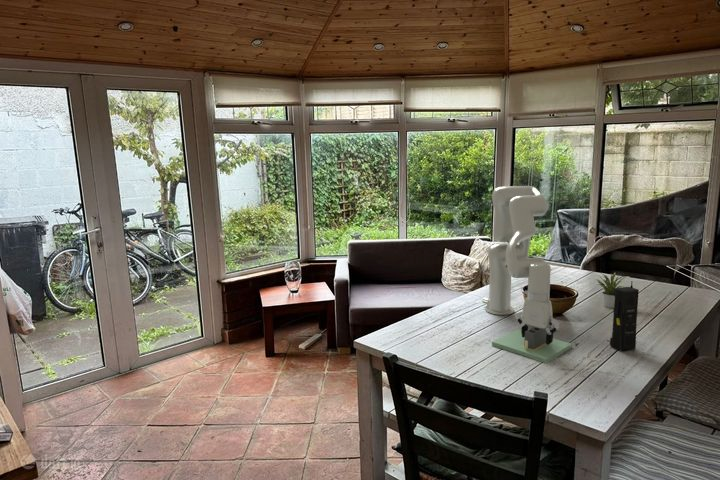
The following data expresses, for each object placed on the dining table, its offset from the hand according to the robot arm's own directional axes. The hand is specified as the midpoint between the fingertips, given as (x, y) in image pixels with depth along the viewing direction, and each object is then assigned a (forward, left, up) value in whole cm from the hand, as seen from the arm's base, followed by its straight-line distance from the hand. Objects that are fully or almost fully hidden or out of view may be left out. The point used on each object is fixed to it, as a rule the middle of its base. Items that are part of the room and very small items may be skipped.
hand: (536, 339), depth 179 cm
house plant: (0, +69, -3) cm, 69 cm away
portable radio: (+22, +22, -3) cm, 31 cm away
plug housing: (0, 0, -2) cm, 2 cm away
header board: (-2, 0, -3) cm, 4 cm away
